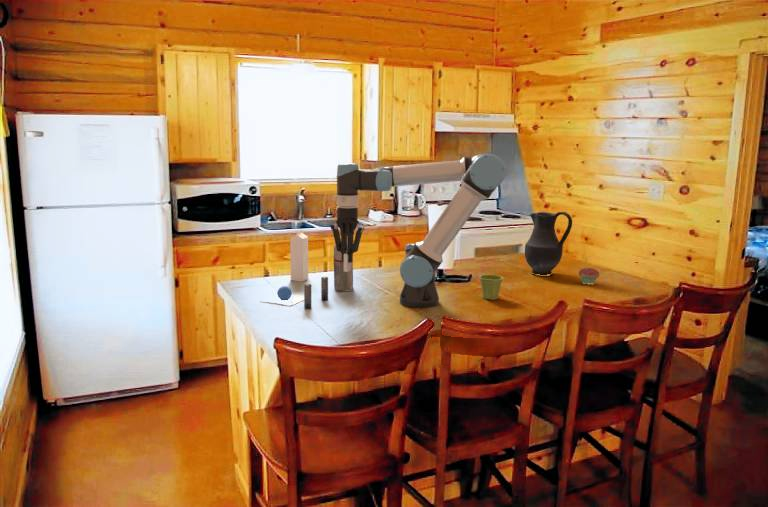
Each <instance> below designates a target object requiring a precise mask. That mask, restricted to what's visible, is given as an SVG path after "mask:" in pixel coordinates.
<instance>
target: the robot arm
mask: <svg viewBox="0 0 768 507" xmlns="http://www.w3.org/2000/svg"><path fill="white" fill-rule="evenodd" d="M336 169H337V170H336V206H337V208H336V217H337V218H336V220H335V223H334V224H331V225H330V226H329V227H330V229H331V231H332V234H333V239H334V245H336V249H337V251H339V252H341V253H342V262H344V272H348V271H350V270H351V262H352V261H353V262H354V260H353V259H354V256H353V255H354V253H356V252H358V251H359V247H360V242H361V237H362V234H363V232H364V231H365V227H364V226H362V225H360V224H359V221H358V217H359V216H358V215H359V208H358V206H359V196H358V195H359V191H361V192H362V191H364V192H365V191H368V192H370V191H371V192H381V193H382V192H389V191H391V189H392V188H393V187H403V186H406V187H407V186H416V185H428V184H429V185H430V184H439V183H454V182H460V183H461V186H460V187H459V189H457V192H456V193H455V195H454V196H453V197H452V199H451V200H450V202H449V203H448V204H447V206H446V208H444V210H443V211H442V213H441V214H440V215H439V217H438V218H437V220H436V222H435V223H434V224H433V225H432V227H431V228H430V230H429V231H428V232H427V234H426V235H425V237H424V238H423V240H422V241H417V242H415V243H407V244H406V245H405V248H404V252H405V253H404V254H405V256H404V259H403V260H402V262H401V264H400V266H399V275H400V277H401V279H402V281H403V282H404V284H403V286H402V290H401V292H400V295H399V303H400V304H401V305H403V306H406V307H409V308H419V309H422V308H432V307H436V306H437V305H439V303H440V296H439V293H438V289H437V286H436V272H437V270H438V269H439V268H440V266H441V265H442V263H443V262H444V260H443V254H444V253H445V251H447V249H448V247H449V246H450V245H451V244H452V242H453V241H454V239H455V238H456V237H457V235H458V234H459V232H460V231H461V230H462V228H463V227H464V225H465V224H466V223H467V221H468V220H469V218H470V217H471V215H472V214H473V213H474V212H475V210H476V209H477V207H478V206H479V204H480V203H481V202H482V201H484V200H485V201H486V200H488V199H490V197H491V196H492V194H493V193H494V191H495V190H496V189H497V187H499V186H500V185H502V183H503V182H504V181H505V178H506V174H507V173H506V172H507V171H506V170H507V169H506V165H505V162H504V161H503V160H502V158H501V157H500V156H498V155H497V154H495V153H492V152H484V153H483V152H482V153H480V154H476V155H471V156H470V155H469V156H463V157H462V158H461V159H458V160H448V161H438V162H437V161H436V162H426V163H425V162H423V163H416V164H415V163H414V164H403V165H393V166H378V167H376V168H374V169H361V168H360V167H359V164H357V163H354V162H343V163H338V165H337V168H336ZM355 231H356V232H355ZM354 235H355V236H354ZM346 252H347V253H346Z"/></svg>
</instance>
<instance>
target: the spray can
mask: <svg viewBox="0 0 768 507" xmlns="http://www.w3.org/2000/svg"><path fill="white" fill-rule="evenodd" d="M346 253H347V252H346ZM333 284H334V285H333V288H334V291H337V292H349V291H353V290H354V260H353V261H352V262H351V270H350V271H348V272H344V262H342V253H341V252H339V251H337V249H336V244H334V246H333Z"/></svg>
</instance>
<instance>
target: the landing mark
mask: <svg viewBox="0 0 768 507" xmlns="http://www.w3.org/2000/svg"><path fill="white" fill-rule="evenodd" d="M293 296H294V298H293V302H294V301H295V302H294V303H293V306H294V304H295V305H296V303H297V304H298V303H301V302H304V301H303V300H304V295H299V294H293ZM290 305H291V304H290ZM281 306H284V305H283V304H282V305H281Z"/></svg>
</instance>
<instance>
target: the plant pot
mask: <svg viewBox="0 0 768 507" xmlns="http://www.w3.org/2000/svg"><path fill="white" fill-rule="evenodd" d="M478 278H479V280H480V286H481V296H482V298H483V299H484V300H490V301H493V300H495V301H496V300H497V299H499V295H500V290H501V285H502V282H503V280H504V277H503V276H501V275H497V274H481V275H479V277H478Z"/></svg>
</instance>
